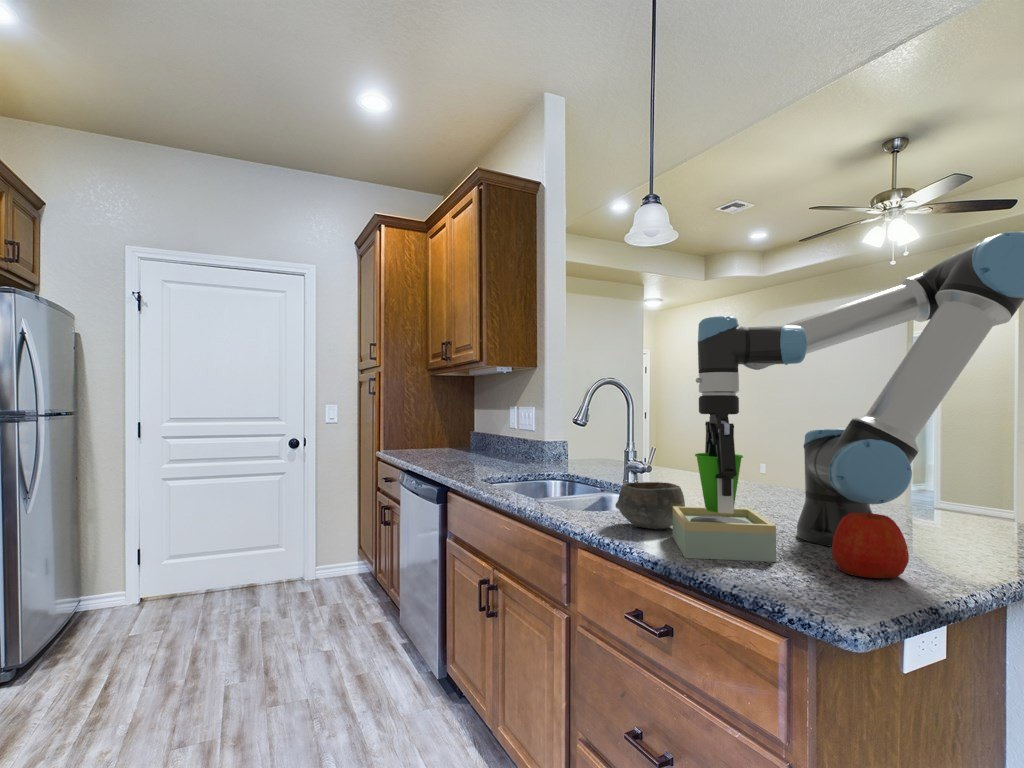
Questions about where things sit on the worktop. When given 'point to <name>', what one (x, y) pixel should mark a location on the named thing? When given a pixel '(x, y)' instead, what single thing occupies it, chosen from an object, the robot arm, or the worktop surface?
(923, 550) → the worktop surface
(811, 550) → the worktop surface
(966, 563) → the worktop surface
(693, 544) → the open box
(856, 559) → the apple
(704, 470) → the cup
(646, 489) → the bowl
